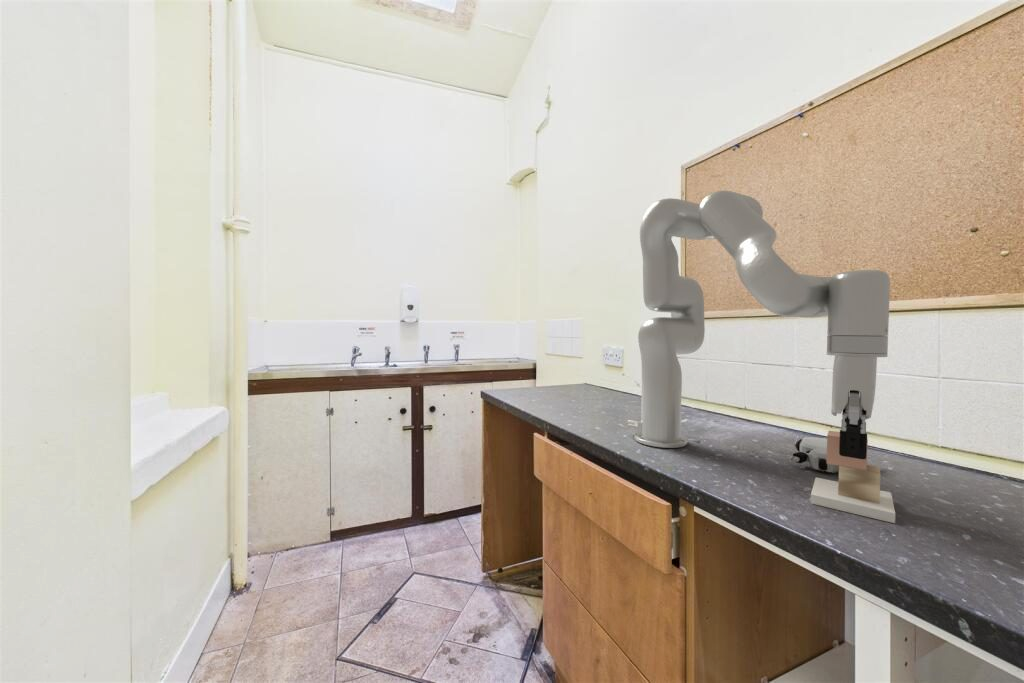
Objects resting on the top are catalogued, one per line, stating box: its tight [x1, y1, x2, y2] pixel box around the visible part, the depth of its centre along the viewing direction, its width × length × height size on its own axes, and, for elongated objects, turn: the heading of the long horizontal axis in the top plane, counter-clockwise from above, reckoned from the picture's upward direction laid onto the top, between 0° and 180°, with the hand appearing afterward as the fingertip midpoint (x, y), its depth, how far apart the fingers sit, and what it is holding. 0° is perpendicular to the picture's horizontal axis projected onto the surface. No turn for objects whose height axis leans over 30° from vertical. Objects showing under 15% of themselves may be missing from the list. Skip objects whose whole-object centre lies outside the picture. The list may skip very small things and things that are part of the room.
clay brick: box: [826, 430, 869, 471], centre depth 65 cm, size 5×4×5 cm
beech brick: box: [837, 464, 881, 504], centre depth 64 cm, size 5×4×5 cm
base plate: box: [810, 477, 896, 524], centre depth 65 cm, size 10×10×2 cm
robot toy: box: [788, 435, 839, 474], centre depth 83 cm, size 12×4×15 cm
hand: (852, 450), depth 65 cm, fingers open, 9 cm apart
